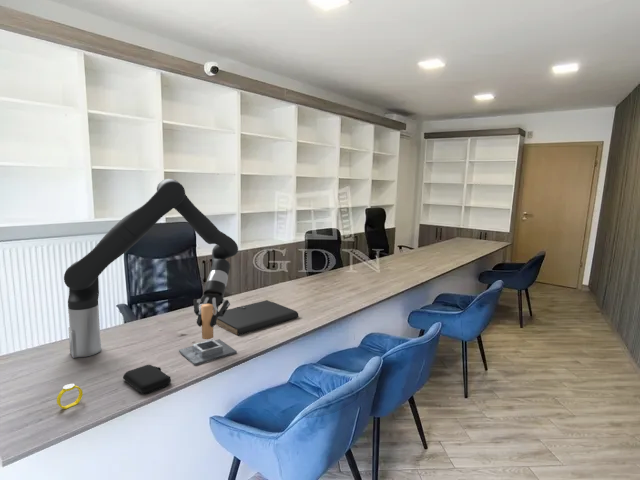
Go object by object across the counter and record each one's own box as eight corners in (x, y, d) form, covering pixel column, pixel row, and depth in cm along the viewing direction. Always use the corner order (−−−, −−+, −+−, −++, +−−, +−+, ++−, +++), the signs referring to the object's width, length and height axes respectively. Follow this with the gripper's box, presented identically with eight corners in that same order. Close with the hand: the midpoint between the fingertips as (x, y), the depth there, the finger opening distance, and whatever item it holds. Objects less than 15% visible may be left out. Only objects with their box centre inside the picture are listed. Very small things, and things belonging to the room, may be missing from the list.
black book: (266, 299, 196) (298, 311, 179) (266, 307, 196) (298, 319, 180) (208, 313, 172) (238, 328, 156) (208, 322, 173) (238, 338, 156)
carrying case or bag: (177, 384, 118) (154, 369, 128) (176, 375, 118) (153, 360, 127) (142, 398, 110) (121, 380, 120) (142, 388, 110) (120, 371, 119)
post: (204, 340, 137) (204, 307, 135) (200, 336, 140) (199, 305, 138) (215, 337, 139) (214, 305, 138) (210, 334, 142) (209, 303, 141)
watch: (61, 413, 102) (58, 393, 101) (56, 410, 103) (53, 390, 102) (85, 401, 107) (82, 382, 106) (80, 398, 108) (77, 379, 107)
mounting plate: (194, 365, 130) (194, 357, 129) (178, 351, 140) (178, 344, 140) (236, 353, 140) (236, 345, 140) (219, 341, 151) (219, 334, 150)
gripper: (195, 278, 145) (182, 320, 134) (232, 280, 144) (222, 322, 133) (201, 288, 151) (189, 329, 140) (236, 290, 150) (227, 331, 139)
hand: (205, 325), depth 137 cm, fingers closed on post, 4 cm apart
